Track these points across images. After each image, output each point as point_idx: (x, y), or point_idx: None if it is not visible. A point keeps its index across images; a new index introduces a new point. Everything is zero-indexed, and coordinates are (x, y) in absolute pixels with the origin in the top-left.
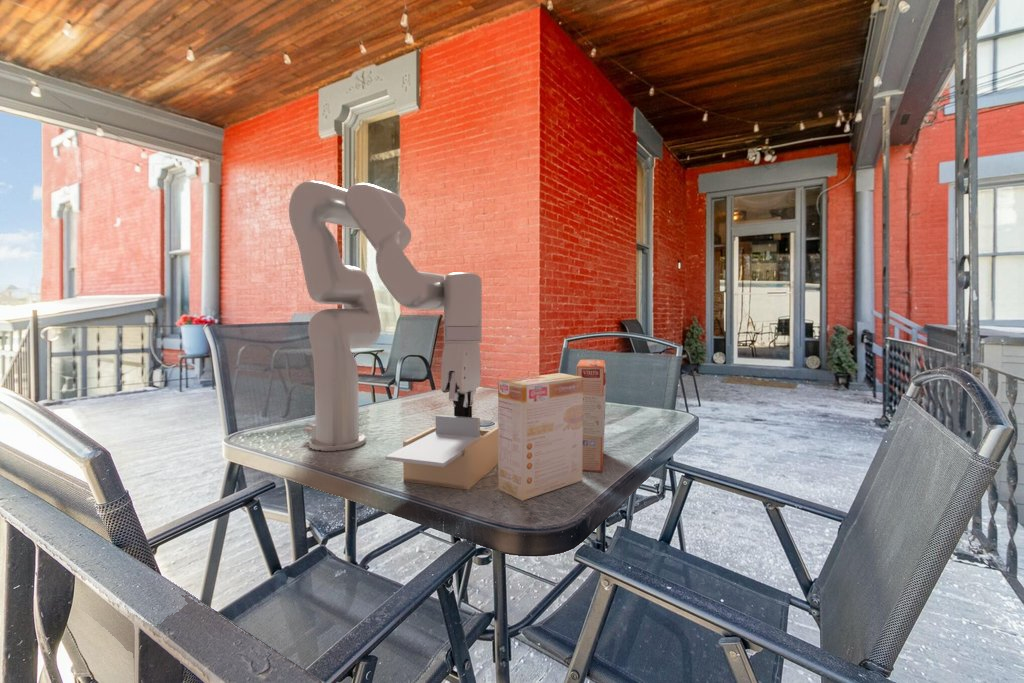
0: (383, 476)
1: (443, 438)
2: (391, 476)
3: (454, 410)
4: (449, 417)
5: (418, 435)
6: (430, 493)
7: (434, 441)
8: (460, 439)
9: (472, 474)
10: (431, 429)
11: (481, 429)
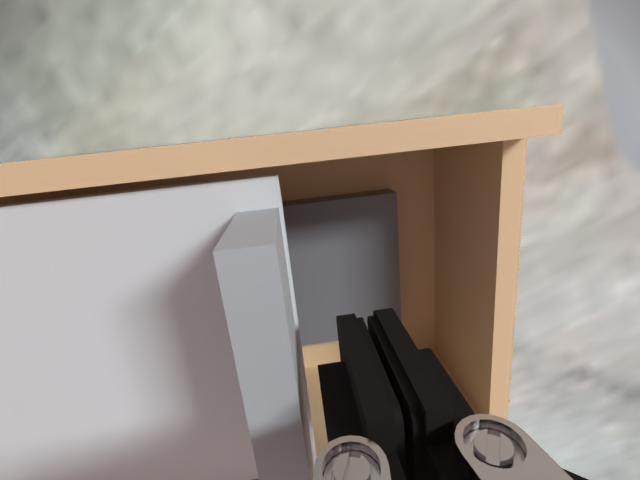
0: (31, 29)
1: (158, 325)
2: (56, 67)
3: (359, 389)
4: (240, 381)
5: (54, 180)
6: None
7: (69, 318)
8: (194, 412)
9: None
10: (251, 164)
11: (513, 334)
